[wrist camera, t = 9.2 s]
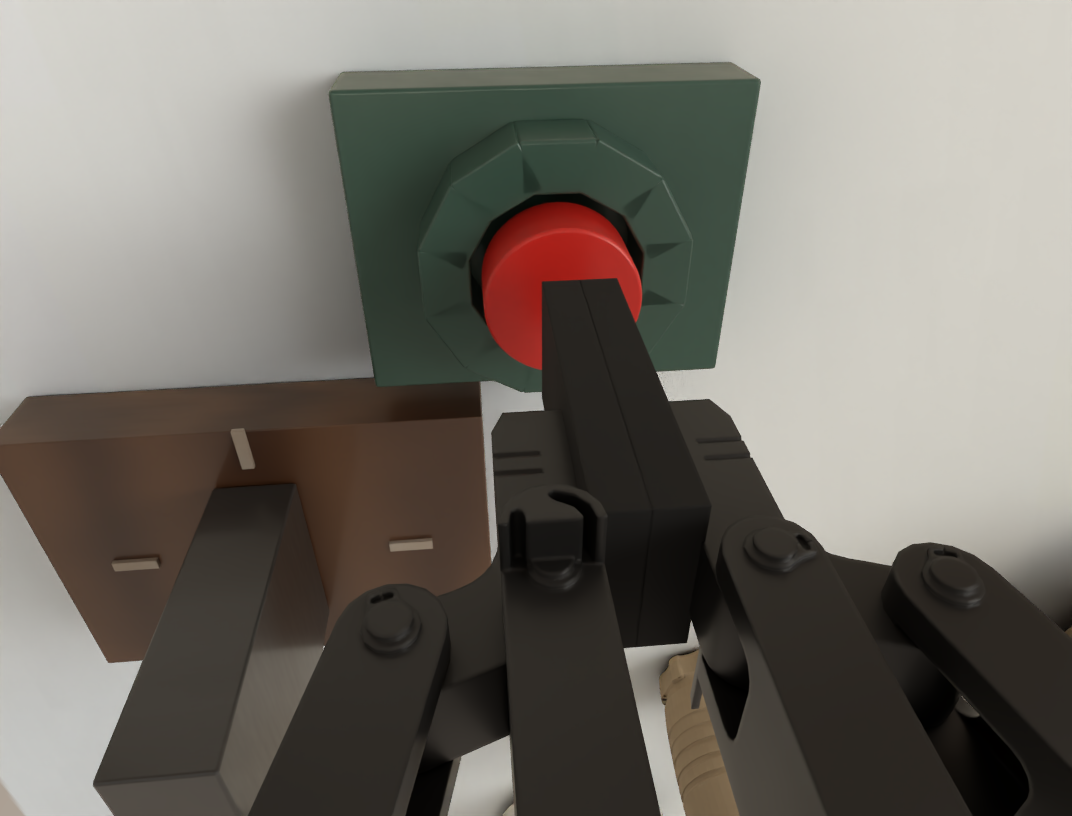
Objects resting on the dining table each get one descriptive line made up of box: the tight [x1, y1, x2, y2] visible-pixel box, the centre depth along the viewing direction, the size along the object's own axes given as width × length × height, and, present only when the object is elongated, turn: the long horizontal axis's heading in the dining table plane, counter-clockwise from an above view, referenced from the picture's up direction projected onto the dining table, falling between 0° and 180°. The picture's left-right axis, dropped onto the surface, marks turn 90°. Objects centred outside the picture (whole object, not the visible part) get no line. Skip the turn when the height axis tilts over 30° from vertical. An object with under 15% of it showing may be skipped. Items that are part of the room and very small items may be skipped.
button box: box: [328, 62, 761, 393], centre depth 19 cm, size 10×8×4 cm
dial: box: [93, 484, 329, 816], centre depth 20 cm, size 6×2×9 cm, turn 0°
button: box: [482, 202, 642, 370], centre depth 17 cm, size 4×4×2 cm
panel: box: [0, 378, 491, 663], centre depth 25 cm, size 14×10×3 cm
